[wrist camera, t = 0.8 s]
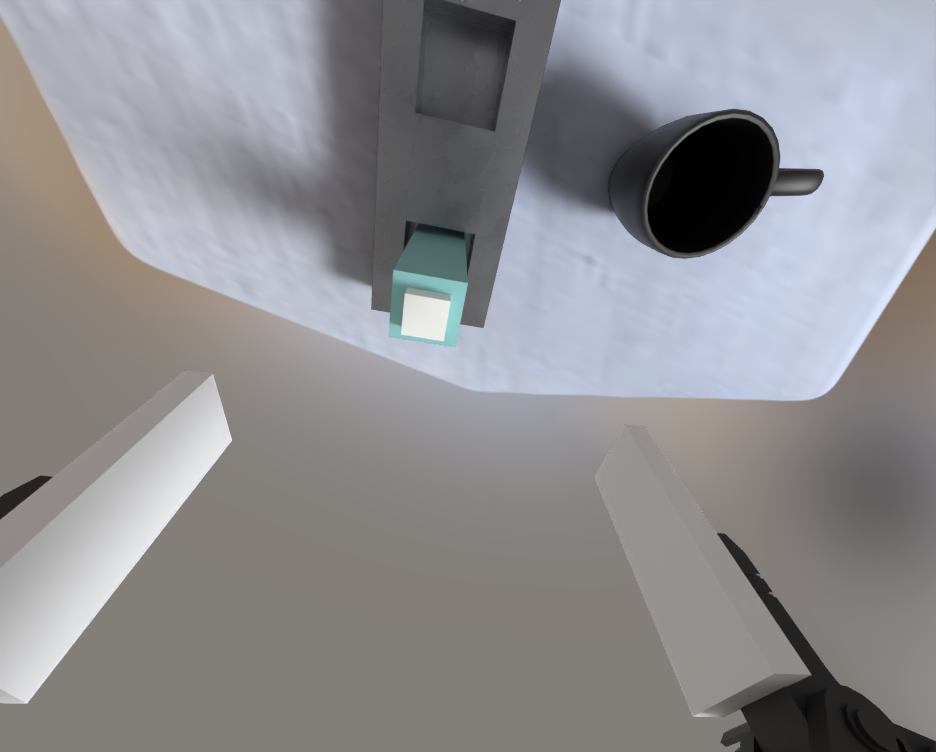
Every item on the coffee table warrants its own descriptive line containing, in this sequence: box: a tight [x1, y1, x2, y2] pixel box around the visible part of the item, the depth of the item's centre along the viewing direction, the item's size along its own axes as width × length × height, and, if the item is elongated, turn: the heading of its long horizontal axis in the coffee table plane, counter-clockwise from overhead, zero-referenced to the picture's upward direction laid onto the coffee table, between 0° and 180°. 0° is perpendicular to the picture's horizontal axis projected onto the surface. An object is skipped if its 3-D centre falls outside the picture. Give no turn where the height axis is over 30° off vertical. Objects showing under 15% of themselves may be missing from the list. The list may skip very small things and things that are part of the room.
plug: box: [389, 223, 468, 347], centre depth 25 cm, size 4×4×15 cm
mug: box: [608, 109, 824, 259], centre depth 25 cm, size 8×12×10 cm
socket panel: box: [371, 0, 561, 328], centre depth 26 cm, size 22×10×5 cm, turn 169°
